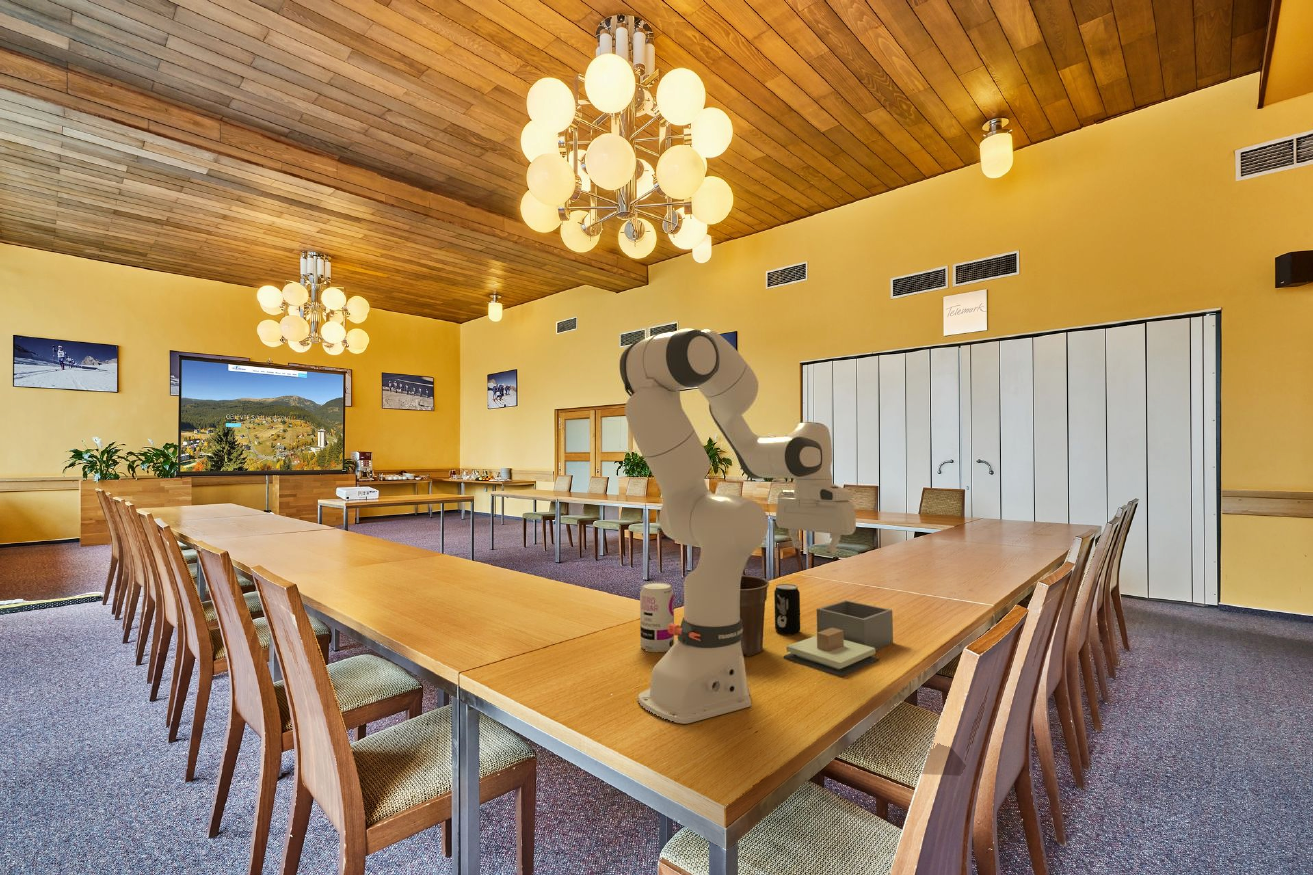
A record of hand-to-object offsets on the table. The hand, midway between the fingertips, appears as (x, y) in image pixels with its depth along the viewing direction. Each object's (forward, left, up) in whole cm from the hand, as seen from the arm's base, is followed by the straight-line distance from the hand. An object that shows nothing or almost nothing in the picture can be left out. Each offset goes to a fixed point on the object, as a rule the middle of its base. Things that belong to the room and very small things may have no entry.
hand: (813, 550), depth 131 cm
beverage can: (+10, +15, -25) cm, 30 cm away
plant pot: (-10, +15, -25) cm, 31 cm away
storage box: (+16, -1, -24) cm, 29 cm away
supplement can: (-24, +28, -25) cm, 45 cm away
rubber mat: (+1, -4, -24) cm, 24 cm away
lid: (+1, -4, -24) cm, 24 cm away
